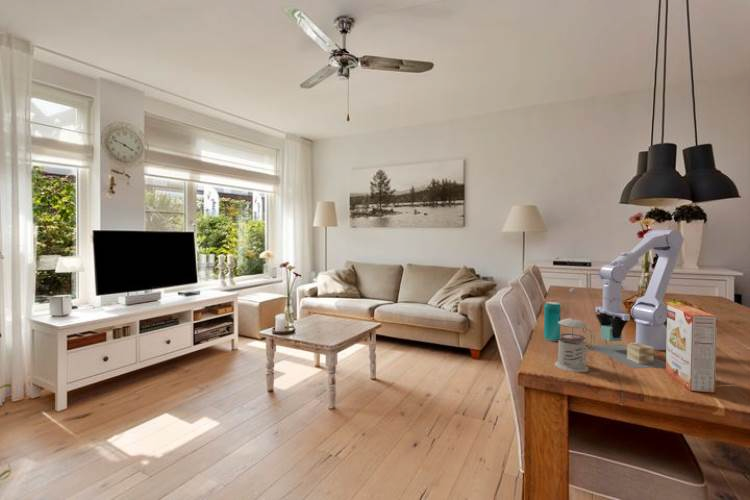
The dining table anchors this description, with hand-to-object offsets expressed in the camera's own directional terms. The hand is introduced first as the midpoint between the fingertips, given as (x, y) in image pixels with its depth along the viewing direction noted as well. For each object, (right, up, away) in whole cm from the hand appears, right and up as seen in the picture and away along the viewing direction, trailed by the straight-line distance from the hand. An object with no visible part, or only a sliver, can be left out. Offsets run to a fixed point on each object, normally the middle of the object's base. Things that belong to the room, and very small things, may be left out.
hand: (611, 335), depth 132 cm
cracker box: (+3, -7, -29) cm, 30 cm away
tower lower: (+2, -6, -12) cm, 13 cm away
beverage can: (-15, -5, +13) cm, 21 cm away
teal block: (0, -1, 0) cm, 1 cm away
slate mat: (+1, -6, -6) cm, 8 cm away
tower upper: (+2, -3, -12) cm, 12 cm away
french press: (-22, -6, -16) cm, 28 cm away
